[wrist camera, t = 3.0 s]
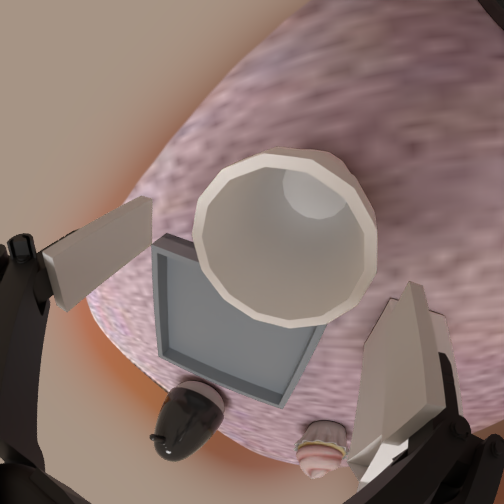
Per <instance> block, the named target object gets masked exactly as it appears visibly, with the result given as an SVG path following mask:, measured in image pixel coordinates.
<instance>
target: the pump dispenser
mask: <svg viewBox="0 0 504 504" xmlns="http://www.w3.org/2000/svg"><path fill="white" fill-rule="evenodd" d="M223 414H224V403H223V400H222V398H221V396H220V395H219V393H218V392H217V391H216V390H215V389H213V388H212V387H210V386H209V385H207V384H205V383H202V382H198V381H186V382H183V383H181V384H179V385H178V386H177V387H175V388H173V389H171V390H170V392H169V393H168V395H167V397H166V399H165V401H164V403H163V406H162V408H161V410H160V413H159V416H158V419H157V423H156V427H155V432H154V434H151V435H150V439H151V440H152V441H154V446H155V450H156V452H157V453H158V455H159V456H160V457H162V458H163V459H165V460H167V461H172V462H177V461H180V460H183V459H185V458H187V457H189V456H191V455H192V454H193V453H195V452H196V451H197V450H198V449H200V448H201V447H202V446H203V445H204V444H205V443H206V442H207V441H208V440H209V439H210V438H211V437H212V435H213V434H214V433H215V432H216V430H217V429H218V428H219V426H220V425H221V423H222V421H223V419H224V415H223Z"/></svg>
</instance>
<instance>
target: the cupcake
mask: <svg viewBox="0 0 504 504" xmlns="http://www.w3.org/2000/svg"><path fill="white" fill-rule="evenodd" d="M294 445H295V446H296V447H295V448H294V449H293V450H294V451H296V452H297V453H296V457H297V460H298V461H299V462H300V467H301V469H302V470H303V472H304V473H305V474H306V475H308V476H309V477H310V478H312V479H314V478H319V477H322V476H324V475H325V474H326V473H327V472H328V471H332V470H335V469H337V468H338V467H339V466H340V464H341V460H342V459H347V455H348V454H349V449H348V446H347V442H346V431H345V429H344V427H343V426H342V425H340V424H338V423H335V422H332V421H317V422H314V423H312V424H311V425H310V426H309V427H308V429H307V431H306V432H305V434H304V435H303V437H302V438H301V439H300V440H298V441H297V442H296V443H295V444H294Z"/></svg>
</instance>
